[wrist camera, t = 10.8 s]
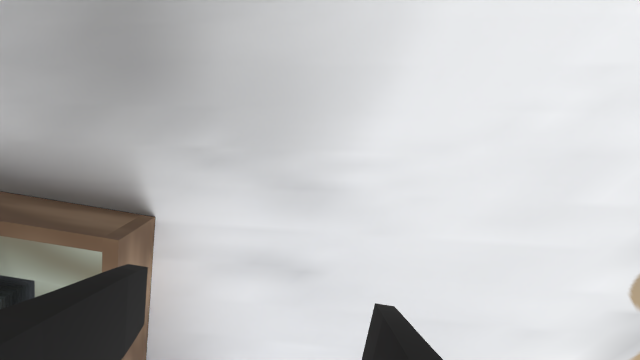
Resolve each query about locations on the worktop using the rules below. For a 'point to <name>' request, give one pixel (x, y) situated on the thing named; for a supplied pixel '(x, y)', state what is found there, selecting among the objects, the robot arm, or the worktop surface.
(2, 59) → the worktop surface
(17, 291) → the charcoal peg
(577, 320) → the worktop surface
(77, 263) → the walnut box
